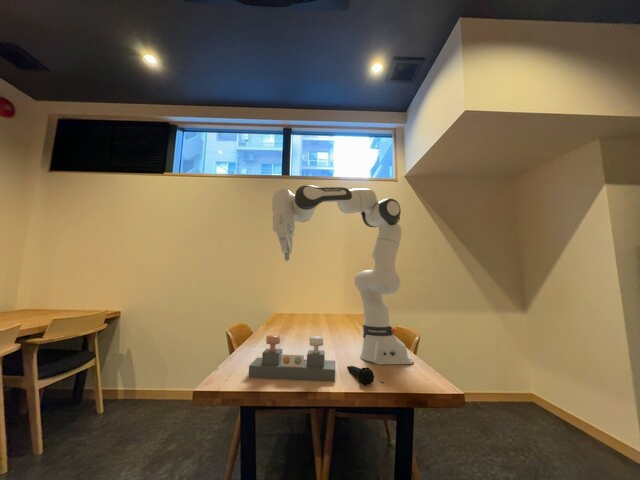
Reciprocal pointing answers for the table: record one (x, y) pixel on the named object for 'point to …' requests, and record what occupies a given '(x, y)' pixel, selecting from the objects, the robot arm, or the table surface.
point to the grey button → (316, 343)
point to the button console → (293, 366)
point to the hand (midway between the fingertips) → (285, 256)
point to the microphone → (362, 374)
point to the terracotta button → (272, 341)
